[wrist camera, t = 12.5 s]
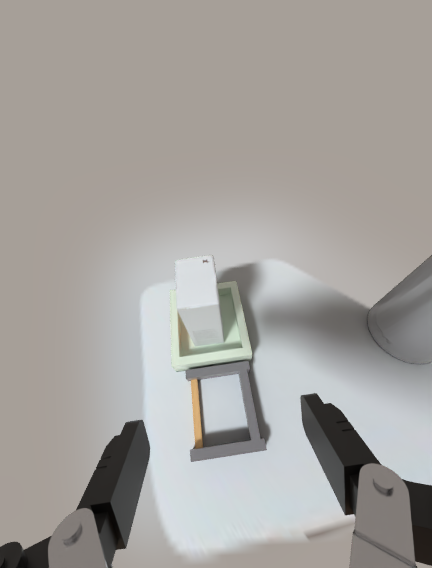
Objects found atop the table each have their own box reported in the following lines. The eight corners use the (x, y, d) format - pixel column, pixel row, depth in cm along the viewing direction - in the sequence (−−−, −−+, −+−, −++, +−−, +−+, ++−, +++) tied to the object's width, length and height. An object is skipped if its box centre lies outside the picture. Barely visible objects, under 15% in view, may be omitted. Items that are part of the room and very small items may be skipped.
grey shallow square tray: (247, 364, 30) (248, 360, 29) (264, 448, 25) (266, 449, 24) (188, 373, 30) (185, 370, 29) (193, 459, 25) (190, 462, 24)
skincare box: (191, 308, 34) (174, 258, 24) (219, 304, 34) (214, 252, 24) (194, 348, 31) (175, 309, 21) (225, 344, 31) (221, 303, 21)
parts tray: (236, 290, 36) (236, 280, 34) (250, 360, 31) (252, 354, 28) (174, 299, 36) (169, 290, 34) (176, 371, 30) (171, 366, 28)
